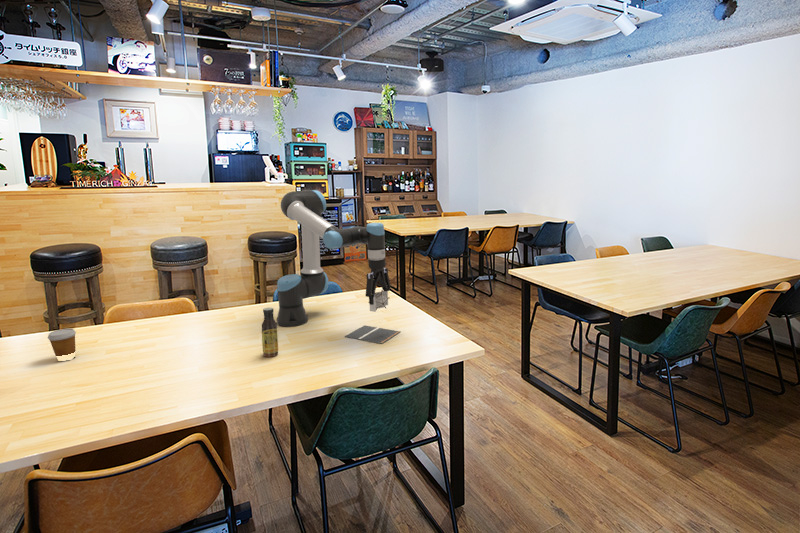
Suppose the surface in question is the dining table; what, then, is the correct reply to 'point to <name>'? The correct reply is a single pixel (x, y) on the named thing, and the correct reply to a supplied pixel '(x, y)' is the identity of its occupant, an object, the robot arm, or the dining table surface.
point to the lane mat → (373, 334)
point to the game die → (380, 299)
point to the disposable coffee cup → (63, 341)
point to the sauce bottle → (269, 334)
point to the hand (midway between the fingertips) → (379, 307)
